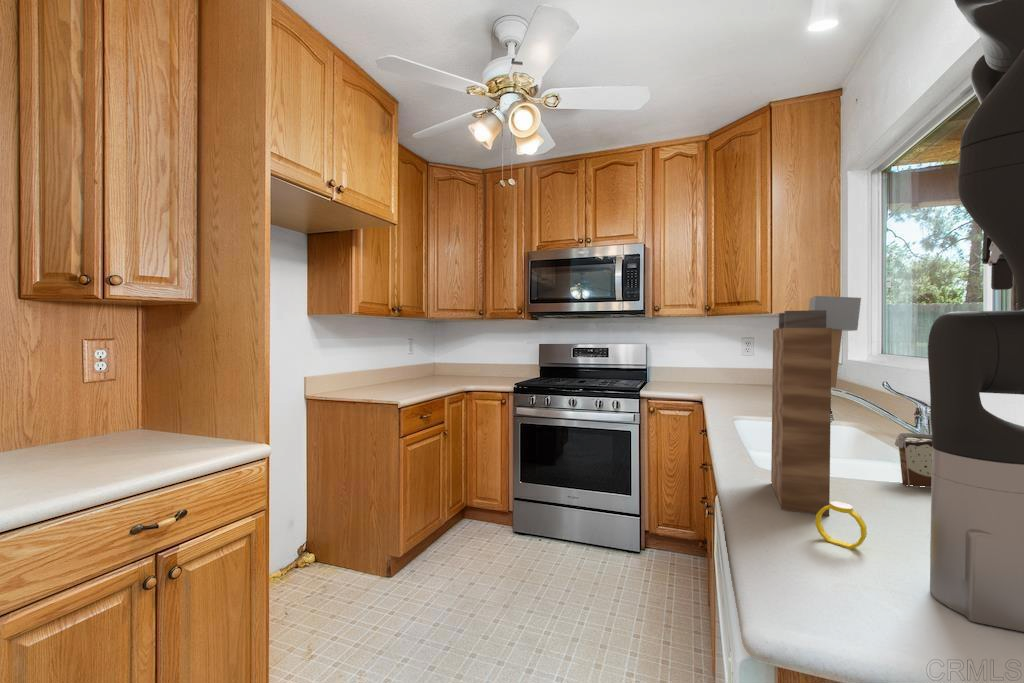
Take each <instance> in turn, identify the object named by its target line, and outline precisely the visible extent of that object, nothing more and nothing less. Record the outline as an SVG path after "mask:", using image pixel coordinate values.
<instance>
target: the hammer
mask: <svg viewBox="0 0 1024 683" xmlns="http://www.w3.org/2000/svg"><path fill="white" fill-rule="evenodd" d="M861 300H862V297H856V296H855V297H851V296H850V297H849V296H832V295H831V296H828V295H814V296H813V297H810V298H809V305H808V307H809V308H808V311H809V310H826V328H832V351H831V388H837V380H838V370H839V362H840V361H839V360H840V351H841V345H842V344H841V343H842V334H843V332H846V331H847V332H853V331H855V332H856V331H858V328H859V319H860V308H861V302H862V301H861Z"/></svg>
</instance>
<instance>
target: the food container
mask: <svg viewBox="0 0 1024 683" xmlns="http://www.w3.org/2000/svg"><path fill="white" fill-rule="evenodd" d="M894 445H895V447H898V450H899V452H898V454H899V463H900V470H901V471H900V472H901V480H902V482H901V483H902V485H904V484H905V485H908V486H910V485H913V486H912V487H911V488H918V487H920V486H925V487H931V480H932V434H930V433H929V434H927V433H915V432H914V433H912V432H911V433H909V432H908V433H899V434H897V437H896V439H895V443H894ZM905 485H904V486H905Z"/></svg>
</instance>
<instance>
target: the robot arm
mask: <svg viewBox="0 0 1024 683" xmlns="http://www.w3.org/2000/svg"><path fill="white" fill-rule="evenodd" d="M954 3H955V5H956V7H957V8H958V10H959V11H960V13H961V14H962V15H963V17H964V18H965V19H966V21H967V22H968V23H969V24H970V26H971V27H972V28H974V30H975V31H976V32H977V33H978V34H979V36H980V38H981V43H982V48H983V49H982V50H983V55H981V56H980V57H979V58H978V59H977V61H975V64H974V66H973V68H972V69H971V73H970V83H971V87H972V89H973V91H974V94H975V96H976V98H977V100H978V102H979V106H978V107H977V108H976V110H975V111H974V112H973V114H972V115H971V117H970V118H969V119H968V122H967V124H966V125H965V127H964V129H963V132H962V133H961V134H962V135H961V138H960V145H959V146H960V147H959V155H958V156H959V159H958V171H957V172H958V174H957V175H958V176H957V196H958V198H959V200H960V203H961V204H962V206H963V208H964V210H966V212H967V214H968V215H969V216H970V217H971V219H972V220H973V221H974V222H975V223H976V225H977V226H978V227H979V229H981V230H982V232H983V235H982V237H983V238H982V254H981V257H982V258H981V263H982V265H987V266H989V267H991V268H990V269H991V276H990V278H991V280H990V281H991V284H990V288H991V289H992V290H994V291H1004V290H1006V291H1007V290H1010V289H1012V288H1013V286H1014V283H1015V290H1016V298H1017V299H1016V300H1017V301H1016V304H1017V305H1016V310H968V311H966V310H965V311H964V310H962V311H951V312H950V311H949V312H945V313H942V314H941V315H939V316H938V317H937V318H936V319H935V320H934V322H933V323H932V325H931V328H930V330H929V335H928V342H927V361H928V376H929V394H930V396H929V397H930V398H929V399H930V404H929V405H930V411H929V412H930V414H929V415H930V424H931V435H932V480H931V488H930V490H931V492H930V495H931V496H930V538H929V540H930V544H929V545H930V546H929V550H930V551H929V559H930V560H929V562H930V563H929V570H930V571H929V591H930V594H931V595H932V597H934V598H935V599H936V600H937V601H938V602H939V603H941V604H943V605H944V606H946V607H948V608H949V609H952V610H953V611H955V612H958V613H959V614H961V615H963V616H965V617H966V619H968V620H969V621H970V622H974V623H977V624H983V625H987V626H993V627H998V628H1003V629H1008V630H1013V631H1018V632H1024V426H1023V425H1020V424H1016V423H1014V422H1012V421H1008V420H1006V419H1005V420H1004V419H1003V418H1000V417H999V416H996V415H995V414H993V413H991V412H989V411H988V410H987V409H986V408H984V406H983V404H982V400H981V396H980V395H981V394H983V393H984V394H1001V395H1002V394H1003V395H1005V394H1006V395H1023V396H1024V0H954ZM980 393H981V394H980Z"/></svg>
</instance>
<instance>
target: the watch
mask: <svg viewBox="0 0 1024 683" xmlns="http://www.w3.org/2000/svg"><path fill="white" fill-rule="evenodd" d="M828 509H829V510H833V511H835V512H839V513H843V514H848V515H850V516H851V517H852V518H854V519H855V522H856V523H857V524H858V526H859V528H860V537H859V539H858V541H857V542H854V543H849V542H845V541H841V540H838V539H836V538H832V537H831V536H830V535H829V534H828V533H827V532H826V531H825V529H824V526H823V524H822V516H823V515H822V514H823V512H824V511H825V510H828ZM815 526H816V527H815V528H816V529H817V533H819V535H820V537H822V538H823V539H824V540H825V541H826V542H827V543H830V544H833V545H837V546H840V547H842V548H846V549H848V550H853V549H855V548H857V547H860V546H861V545H862V544H863V543H864V541H865V539H866V538H867V535H868V532H867V524H866V523H865V521H864V520H863V518H862V516H861V515H860V514H859V513H858V512H856V511H855V510H854V507H853V506H852V505H851V504H848V503H845V502H843V501H842V502H841V501H835V500H834V501H829V505H828V506H825V507H823V508H822V509H821V510H820V511H819V512H818V513H817V514H815Z"/></svg>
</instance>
